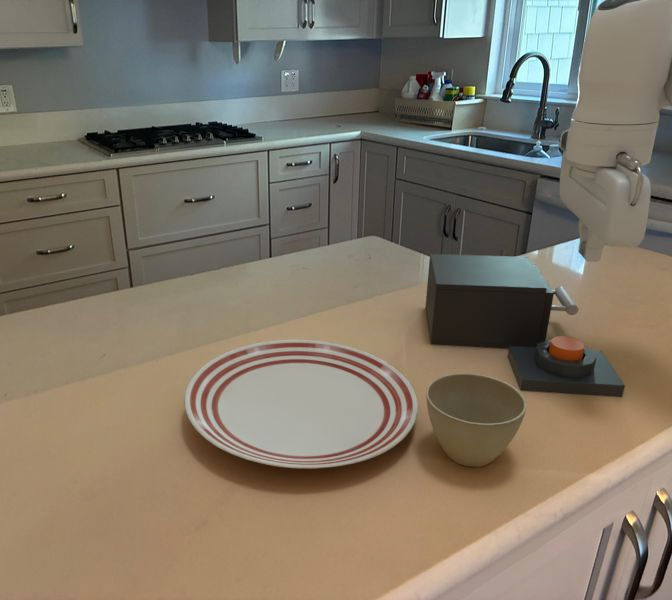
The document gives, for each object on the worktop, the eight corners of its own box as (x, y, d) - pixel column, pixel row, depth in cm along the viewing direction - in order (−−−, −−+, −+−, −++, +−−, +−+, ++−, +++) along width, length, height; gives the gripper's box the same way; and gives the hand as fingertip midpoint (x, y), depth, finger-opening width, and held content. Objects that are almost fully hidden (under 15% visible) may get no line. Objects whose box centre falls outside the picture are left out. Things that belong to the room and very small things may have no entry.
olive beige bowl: (525, 440, 68) (534, 385, 66) (506, 495, 61) (516, 435, 58) (436, 416, 73) (441, 363, 70) (408, 463, 65) (413, 407, 62)
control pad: (599, 361, 84) (604, 338, 83) (622, 397, 76) (628, 372, 74) (507, 356, 86) (510, 334, 84) (520, 390, 78) (524, 366, 76)
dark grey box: (518, 313, 99) (527, 256, 95) (536, 350, 87) (546, 288, 83) (425, 308, 101) (430, 253, 97) (430, 344, 89) (436, 283, 86)
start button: (577, 348, 81) (579, 336, 80) (586, 363, 77) (588, 351, 77) (545, 346, 82) (547, 335, 81) (552, 361, 78) (555, 349, 77)
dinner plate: (375, 349, 89) (376, 328, 87) (456, 473, 64) (459, 447, 62) (183, 367, 85) (181, 346, 84) (190, 506, 60) (187, 479, 59)
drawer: (556, 311, 97) (565, 264, 94) (577, 345, 86) (587, 294, 83) (440, 306, 100) (444, 260, 96) (447, 338, 89) (452, 288, 86)
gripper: (678, 163, 61) (649, 291, 67) (608, 131, 80) (590, 233, 85) (610, 163, 62) (587, 289, 68) (557, 132, 81) (542, 232, 86)
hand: (588, 257), depth 77 cm, fingers closed
